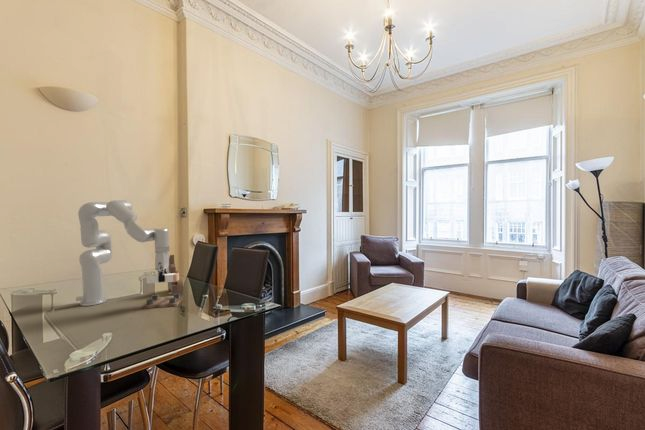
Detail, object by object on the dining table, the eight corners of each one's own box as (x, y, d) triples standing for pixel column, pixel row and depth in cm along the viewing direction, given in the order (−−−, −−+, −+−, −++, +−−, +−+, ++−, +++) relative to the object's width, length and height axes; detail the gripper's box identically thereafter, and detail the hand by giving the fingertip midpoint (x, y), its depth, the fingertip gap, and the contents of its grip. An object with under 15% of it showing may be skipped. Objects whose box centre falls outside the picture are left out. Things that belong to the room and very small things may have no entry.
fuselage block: (146, 283, 174) (146, 276, 173) (150, 281, 178) (149, 274, 178) (176, 281, 176) (176, 274, 176) (179, 279, 181) (179, 272, 181)
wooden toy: (183, 293, 197) (182, 255, 197) (172, 295, 193) (171, 256, 192) (178, 288, 210) (177, 252, 209) (167, 290, 205) (166, 253, 205)
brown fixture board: (142, 308, 169) (142, 301, 169) (151, 300, 183) (151, 294, 183) (176, 306, 173) (176, 299, 173) (183, 298, 186) (183, 292, 186)
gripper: (160, 248, 184) (161, 277, 185) (149, 252, 168) (151, 284, 168) (173, 247, 186) (174, 277, 186) (164, 251, 169) (165, 283, 170)
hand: (163, 280), depth 177 cm, fingers closed on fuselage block, 5 cm apart
